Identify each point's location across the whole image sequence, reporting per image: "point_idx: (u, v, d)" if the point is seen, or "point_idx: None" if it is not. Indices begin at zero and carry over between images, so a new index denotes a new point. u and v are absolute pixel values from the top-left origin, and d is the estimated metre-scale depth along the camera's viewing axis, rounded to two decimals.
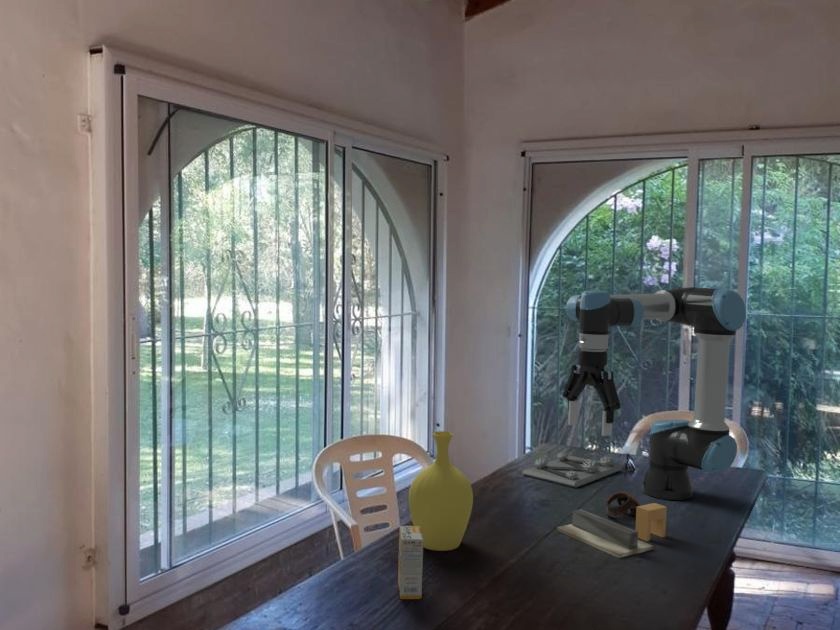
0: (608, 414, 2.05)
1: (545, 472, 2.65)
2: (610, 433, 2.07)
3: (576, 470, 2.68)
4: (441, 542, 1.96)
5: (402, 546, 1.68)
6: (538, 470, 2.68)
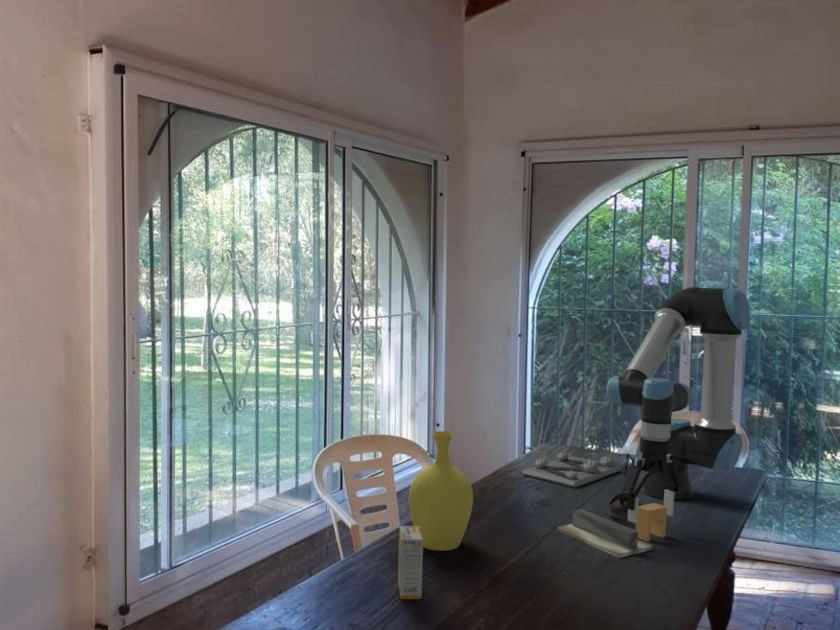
0: None
1: (545, 472, 2.65)
2: (634, 521, 2.07)
3: (576, 470, 2.68)
4: (441, 542, 1.96)
5: (402, 546, 1.68)
6: (538, 470, 2.68)
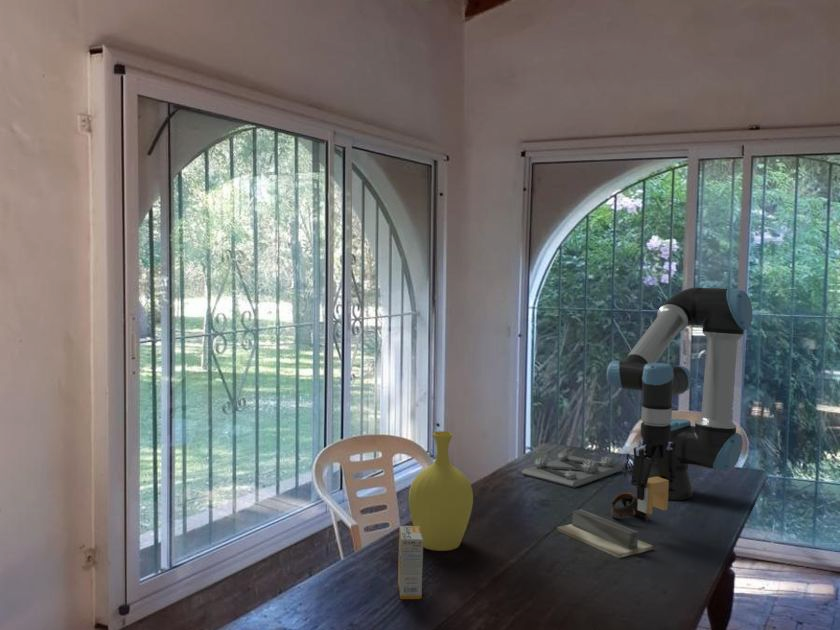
0: None
1: (544, 472, 2.66)
2: (644, 510, 2.09)
3: (576, 470, 2.68)
4: (441, 542, 1.96)
5: (402, 546, 1.68)
6: (537, 470, 2.68)
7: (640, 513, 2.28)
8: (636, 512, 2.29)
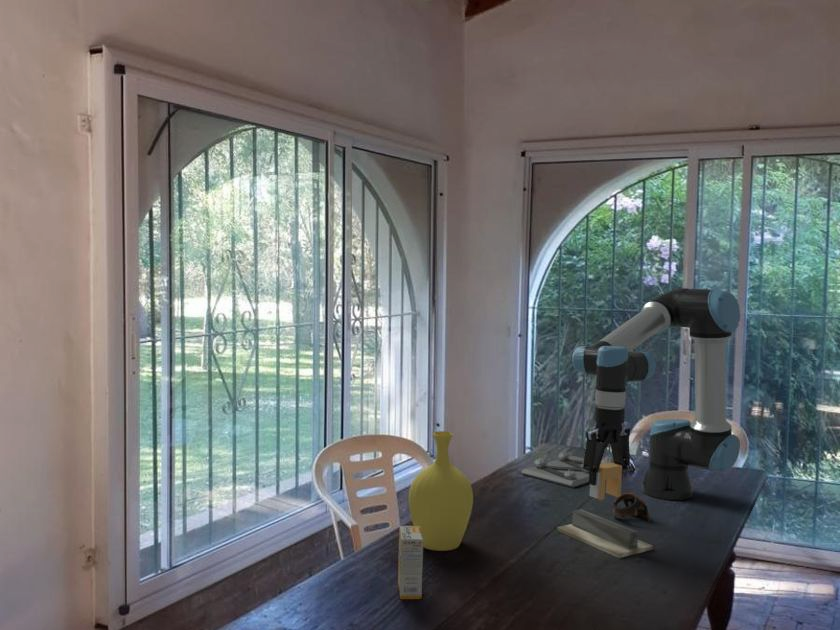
0: None
1: (544, 472, 2.66)
2: (595, 496, 2.04)
3: (575, 470, 2.68)
4: (441, 542, 1.96)
5: (402, 546, 1.68)
6: (537, 470, 2.68)
7: (642, 513, 2.28)
8: (638, 512, 2.29)
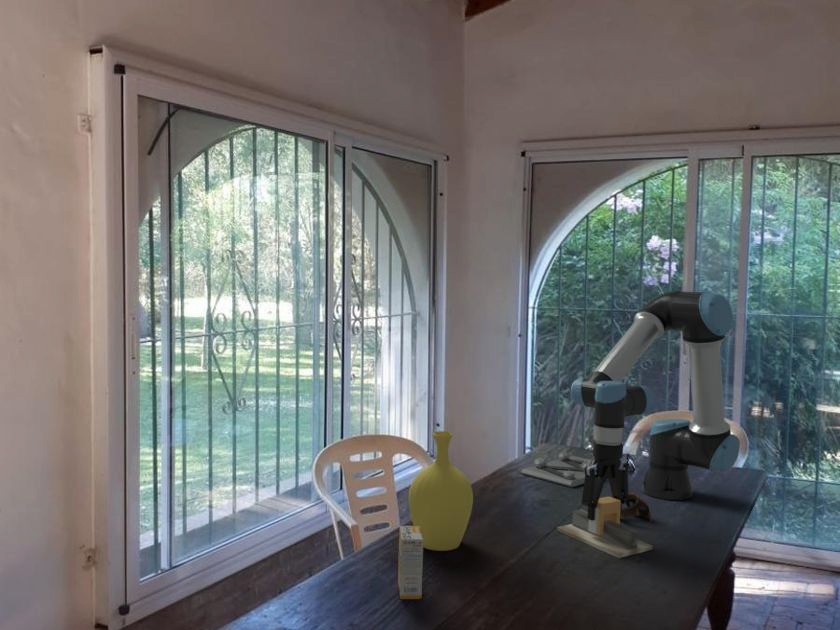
0: None
1: (543, 471, 2.66)
2: (594, 531, 2.05)
3: (575, 470, 2.68)
4: (441, 542, 1.96)
5: (402, 546, 1.68)
6: (537, 469, 2.68)
7: (644, 514, 2.28)
8: (639, 513, 2.29)
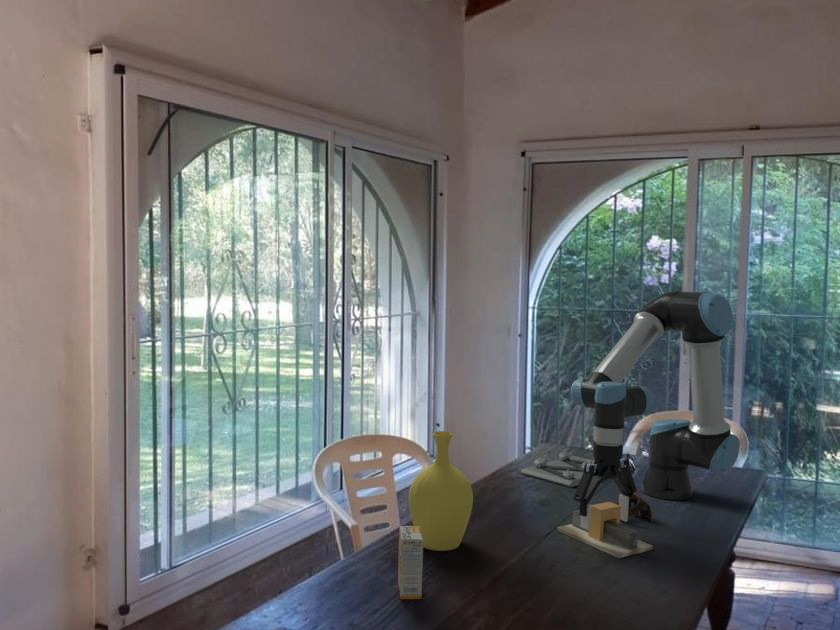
0: None
1: (543, 471, 2.66)
2: (586, 527, 2.03)
3: (575, 470, 2.68)
4: (441, 542, 1.96)
5: (402, 546, 1.68)
6: (537, 469, 2.69)
7: (645, 514, 2.28)
8: (641, 513, 2.28)
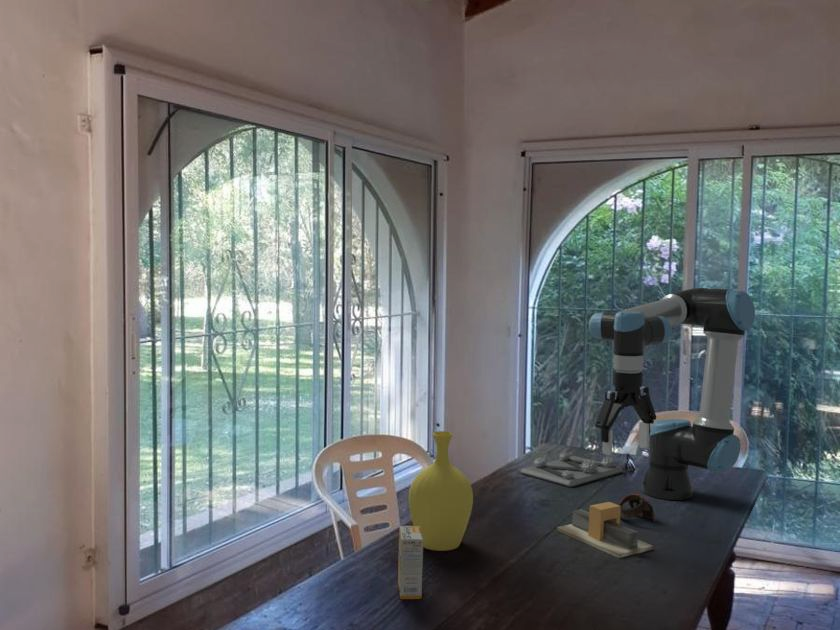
0: None
1: (543, 471, 2.66)
2: (608, 453, 2.07)
3: (575, 470, 2.68)
4: (441, 542, 1.96)
5: (402, 546, 1.68)
6: (536, 469, 2.69)
7: (647, 514, 2.27)
8: (643, 513, 2.28)
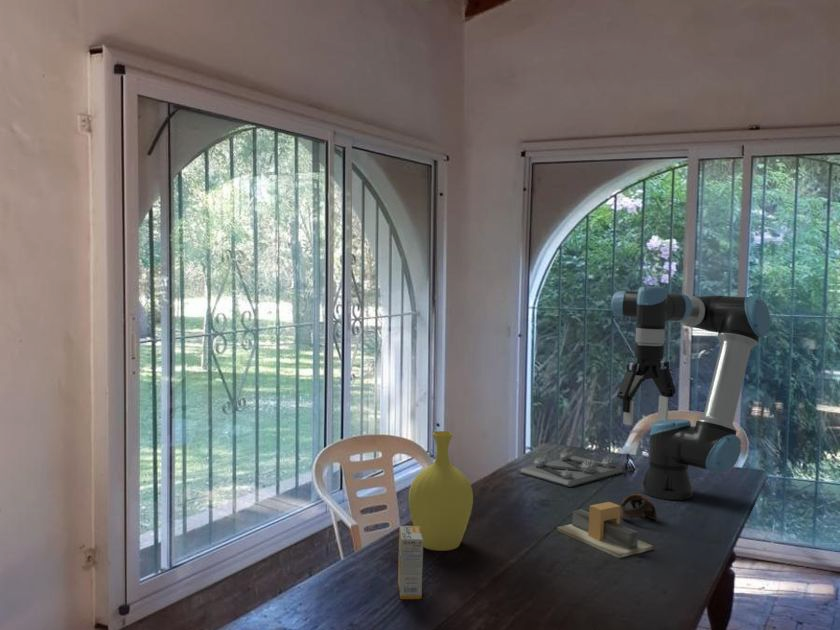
0: None
1: (542, 471, 2.67)
2: (629, 423, 2.13)
3: (574, 470, 2.68)
4: (441, 542, 1.96)
5: (402, 546, 1.68)
6: (536, 469, 2.69)
7: (649, 514, 2.27)
8: (645, 513, 2.28)
